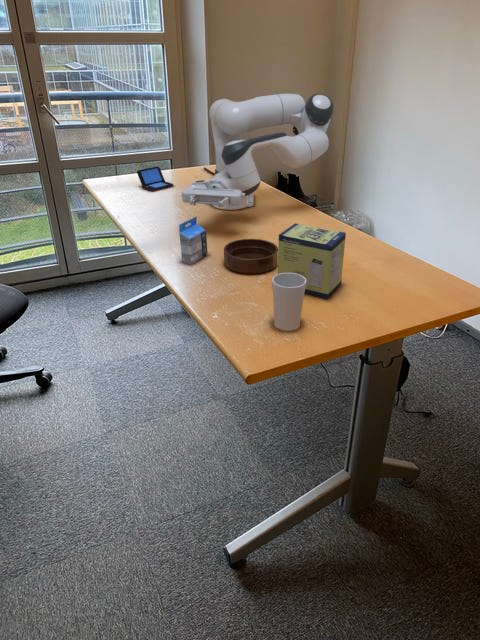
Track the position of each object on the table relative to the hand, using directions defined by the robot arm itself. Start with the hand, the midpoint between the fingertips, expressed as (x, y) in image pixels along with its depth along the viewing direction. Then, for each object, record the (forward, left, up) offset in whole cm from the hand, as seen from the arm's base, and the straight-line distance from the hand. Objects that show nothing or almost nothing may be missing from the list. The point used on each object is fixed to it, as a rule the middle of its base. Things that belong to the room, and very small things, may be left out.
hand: (206, 203), depth 163 cm
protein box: (+25, +37, -14) cm, 46 cm away
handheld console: (-59, -41, -14) cm, 74 cm away
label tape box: (+14, 0, -14) cm, 19 cm away
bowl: (+14, +18, -13) cm, 26 cm away
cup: (+47, +34, -14) cm, 59 cm away
